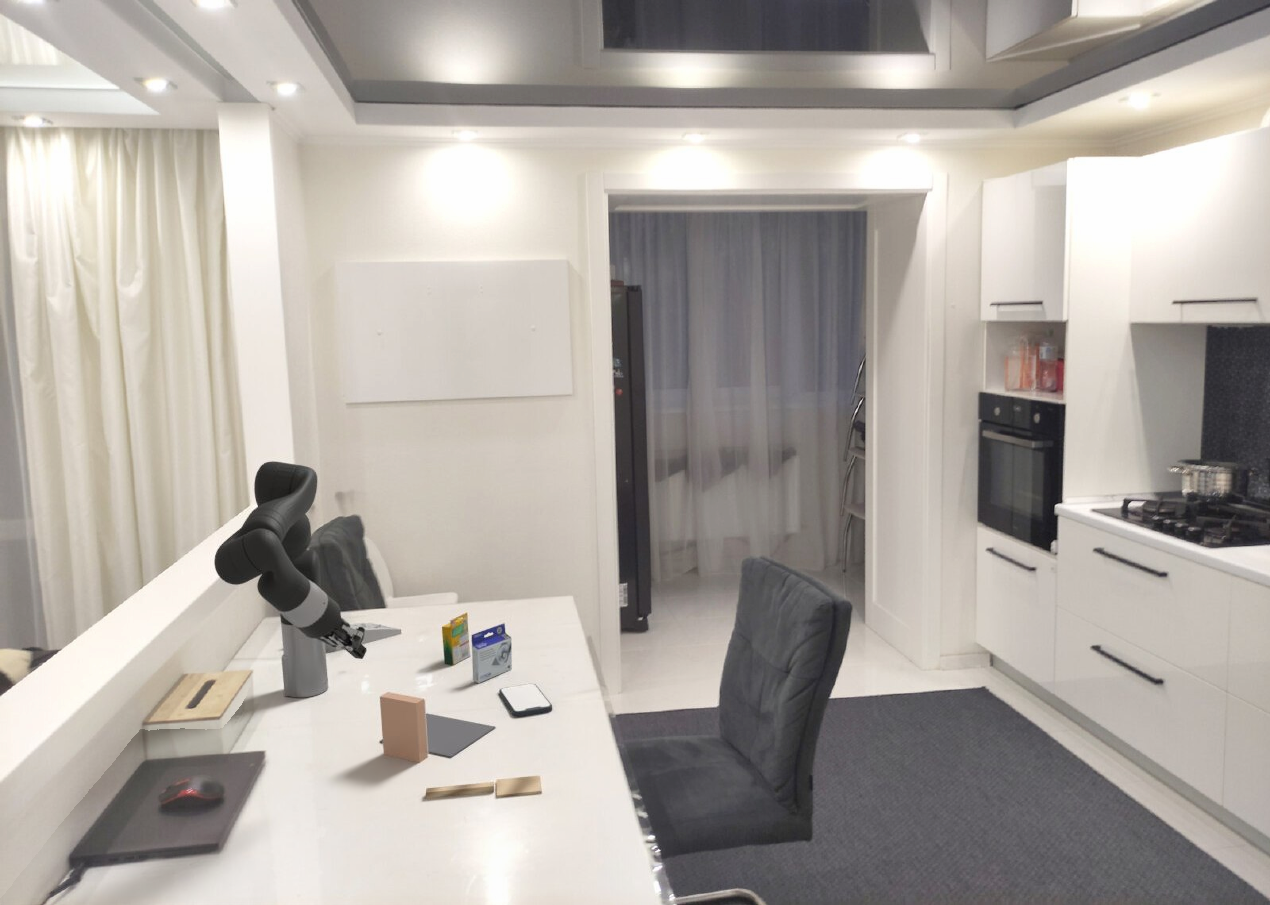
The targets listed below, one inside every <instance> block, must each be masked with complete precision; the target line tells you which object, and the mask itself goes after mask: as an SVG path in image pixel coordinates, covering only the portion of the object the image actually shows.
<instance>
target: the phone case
mask: <svg viewBox="0 0 1270 905" xmlns="http://www.w3.org/2000/svg"><path fill="white" fill-rule="evenodd" d="M498 694H499V696H500V698H501V699H502V701H503V702H504V704H505V705H506V706H507V708H508V710H509V712H510V713H511V714H512V716H513V717H515V718H523V717H530V716H535V715H539V714H540V715H541V714H546V713H547V714H548V713H550V712H552V711H553V705H552V703H551V702H550V700H549V699H548V698H547V697H546V695H545V694H544V693H543V692H542V691H541V690H540V688H539V687H538V686H537V684H536V683H528V684H520V685H514V686H513V685H512V686H507V687H503V688H499V691H498Z"/></svg>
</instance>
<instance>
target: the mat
mask: <svg viewBox="0 0 1270 905" xmlns="http://www.w3.org/2000/svg"><path fill="white" fill-rule="evenodd" d="M426 723H427V739H428V754H432V755H436V756H441V757H446V758H453V757H455V756H456V755H457V754H459V753H461V752H462V751H464V750H465V749H467V748H469V746H471V745H473V744H475V743H476V742H477V741H479V740H480V739H482V738H483V737H484V736H486V735H487V734H489V733H490V732H492V731H494V730H495V729H496V726H493V725H489V724H488V725H487V724H484V723H480V722H479V723H477V722H474V721H473V722H472V721H468V720H463V719H457V718H452V717H447V716H443V715H437V714H433V713H428V712H426ZM379 743H380V744H383V738H382V739H380V740H379Z"/></svg>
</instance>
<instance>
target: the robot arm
mask: <svg viewBox="0 0 1270 905" xmlns="http://www.w3.org/2000/svg"><path fill="white" fill-rule="evenodd" d="M253 486H254V488H253V490H254V491H253V492H254V498H255V502H256V505H257V507H256V508H254V509H253V510H252V511H251V512H250V513H249V515H248V516H247V517H246V519H245V521H244V523H243V524H242V525H241V527H240V528H239V529H238V530H237V531H235V532H234V533H233V534H232V535H230V536H229V537H228V538H227V539H225V541H224V542H222V543H221V545H220V546H218V549H216V552H215V555H214V561H213V562H214V569H215V572H216V574H217V575H218V576H219V578H220V579H221V581H223V582H225V583H227V584H230V585H235V586H236V585H243V584H245V583H248V582H249V581H252V580H253V579H256V578H258V577H259V578H258V581H257V585H256V587H257V588H256V589H257V591H258V594H259V595H260V597H262V599H264V600H265V601H266V602H267V603H269V604H270V605H271V606H272V607H274V608H275V609H276V610H277V611H278V612H279V613H280V614H279V615H280V625H281V627H280V628H281V639H282V650H283V654H282V655H281V667H282V681H283V682H282V683H283V690H284V691H283V693H284V694H283V695H284V697H291V698H310V697H314V696H317V695H321V694H322V693H324V692H326V691H328V689H329V678H328V677H329V676H328V667H327V666H328V665H327V652H326V651H325V643H326V644H329V645H331V646H332V647H336V646H338V647H339V648H341V649H342V650H341V651H346V652H348V653H349V655H351V656H352V658H355V659H359V660H363V659H364V657H365V656H366V655H365V654H366V653H367V651H368V650H367V647H365V646H364V644H363V645H362V644H361V643H362V641H363V639H364V633H365V629H364V628H363V627H359V628H356V629H353V628H351V627H350V623H349V622H348V621H347V620H345V619H344V618H343V617H342V614H341V613H342V612H341V607H340V605H339V604H338V603H337V602H336V601H335V600H334V599H333V598H332V597H330V596H329V595H328V593H326V591H324V590H323V589H321V562H320V557H319V555H318V552H317V550H314V549H308V548H309V547H310V545H311V541H312V531H311V530H312V528H311V522H310V518H309V517H308V515H307V513H308V512H309V510H310V509H311V508H312V506H313V504H314V502H315V499H316V496H317V495H316V494H317V490H318V474H317V472H316V471H315V470H314V469H313V468H312V467H308V466H306V465H301V464H294V463H287V462H281V461H273V460H272V461H267V462H264V463H263V464H261V465H260V466H259V468H258V470H257V472H256V474H255V477H254V484H253Z"/></svg>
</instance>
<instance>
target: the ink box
mask: <svg viewBox="0 0 1270 905" xmlns="http://www.w3.org/2000/svg"><path fill="white" fill-rule="evenodd" d="M488 634H491V635H488ZM486 635H488V636H486ZM512 649H513V648H512V637H511V636H510V635H509V634H508V633H506V624H505V622H503V623H501V624H498V625H495V626H492V627H490V628H486V629H484V630H482V631H481V630H480V631H478V632H476V633H473V634H471V658H472V660H471V661H472V681H473V683H476V684H480V683H482V682H485V681H487V680H490V679H492V678H494V677H497V676H499V675H502V674H505V673H506V672H509V671H511V670H512V668H513V666H512V665H513V664H512V662H513V660H512V659H513V658H512V657H513V656H512V655H513V654H512V653H513V652H512Z"/></svg>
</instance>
